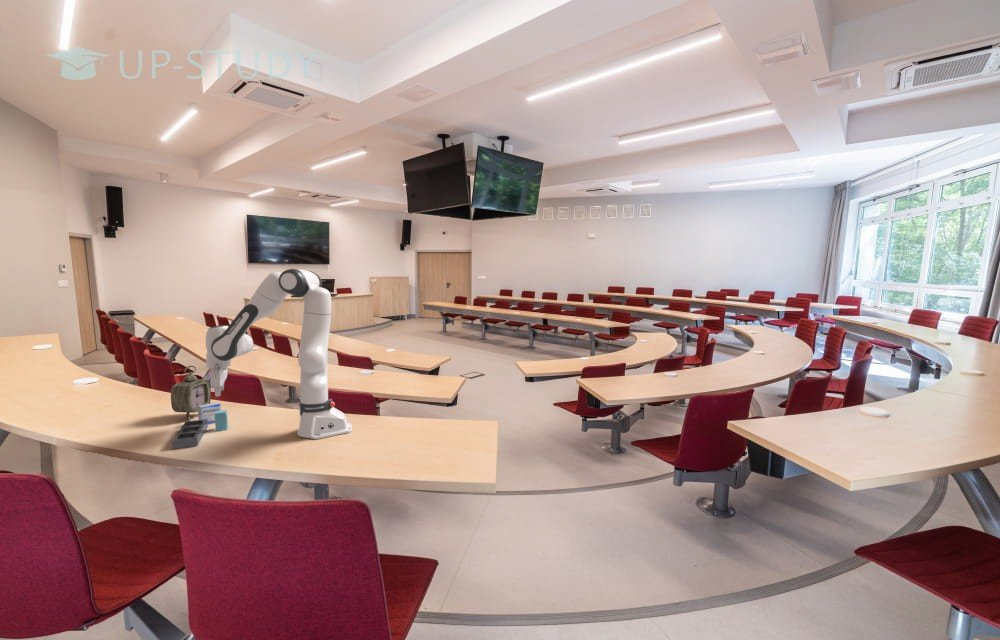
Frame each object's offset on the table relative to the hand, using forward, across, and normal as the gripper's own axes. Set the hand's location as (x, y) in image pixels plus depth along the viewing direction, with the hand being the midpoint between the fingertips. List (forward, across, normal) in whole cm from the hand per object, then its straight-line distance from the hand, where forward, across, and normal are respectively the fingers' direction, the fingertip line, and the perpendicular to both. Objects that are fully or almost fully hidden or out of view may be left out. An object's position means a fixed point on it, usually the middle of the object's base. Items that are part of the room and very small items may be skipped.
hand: (219, 393), depth 183 cm
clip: (+16, 0, 0) cm, 16 cm away
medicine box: (+17, +12, +6) cm, 21 cm away
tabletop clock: (+17, +24, +14) cm, 33 cm away
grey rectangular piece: (+16, -6, +10) cm, 20 cm away
